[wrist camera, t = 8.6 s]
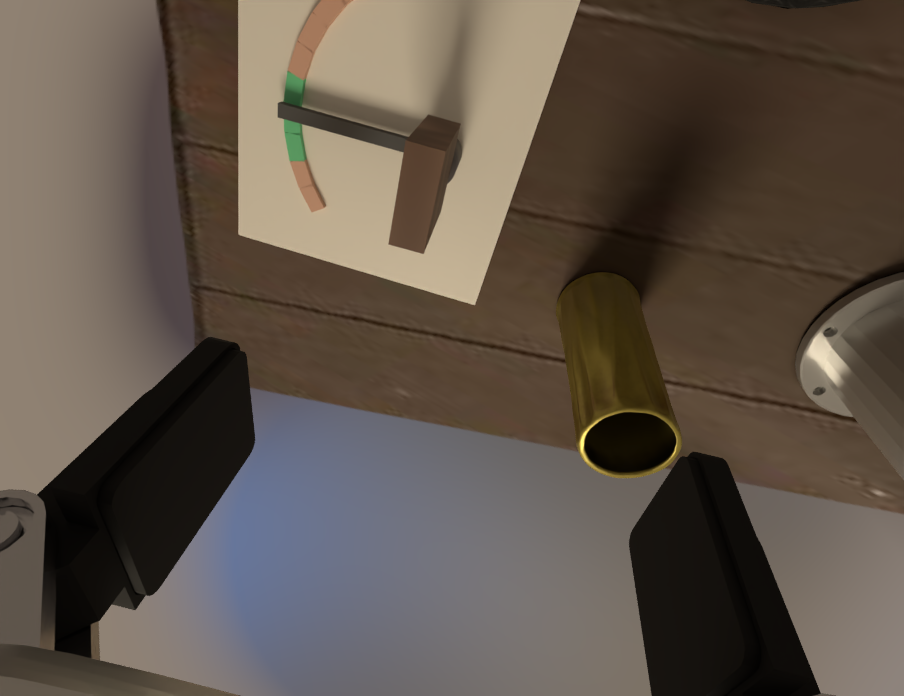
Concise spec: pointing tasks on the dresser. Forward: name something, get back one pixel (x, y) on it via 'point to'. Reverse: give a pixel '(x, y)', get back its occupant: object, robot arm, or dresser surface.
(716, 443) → the dresser surface
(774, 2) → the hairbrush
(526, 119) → the board
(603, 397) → the vase
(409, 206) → the tuner needle gauge
